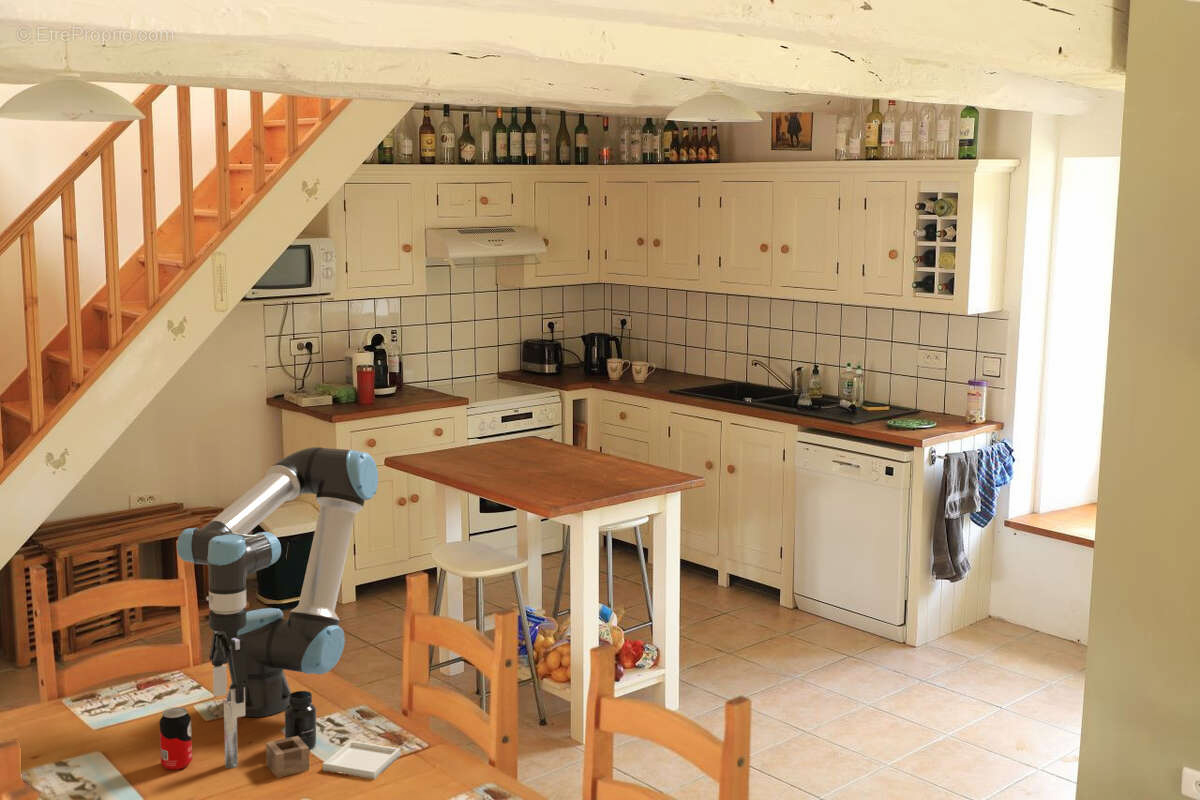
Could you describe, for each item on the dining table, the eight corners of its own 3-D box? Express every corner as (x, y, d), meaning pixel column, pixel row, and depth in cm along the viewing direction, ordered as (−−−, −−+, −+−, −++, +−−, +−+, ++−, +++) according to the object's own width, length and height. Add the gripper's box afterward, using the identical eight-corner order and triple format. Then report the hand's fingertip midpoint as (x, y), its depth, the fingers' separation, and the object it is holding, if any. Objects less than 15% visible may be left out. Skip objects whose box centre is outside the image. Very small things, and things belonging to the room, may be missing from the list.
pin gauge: (223, 764, 257) (222, 702, 255) (235, 761, 258) (234, 700, 256) (227, 769, 254) (225, 706, 252) (239, 766, 256) (238, 704, 254)
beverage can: (174, 774, 252) (172, 720, 250) (154, 766, 255) (152, 713, 253) (198, 763, 257) (197, 710, 255) (179, 756, 260) (177, 703, 258)
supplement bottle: (308, 754, 263) (307, 702, 261) (279, 750, 264) (278, 699, 262) (321, 741, 269) (321, 690, 268) (293, 737, 271) (292, 687, 269)
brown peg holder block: (266, 764, 257) (266, 742, 256) (298, 757, 261) (297, 735, 260) (276, 777, 251) (276, 755, 250) (309, 770, 255) (308, 747, 254)
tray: (322, 770, 255) (322, 763, 255) (350, 747, 266) (350, 740, 266) (374, 779, 251) (374, 772, 251) (400, 755, 263) (400, 748, 263)
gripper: (193, 596, 260) (195, 689, 262) (226, 628, 239) (228, 729, 242) (228, 591, 264) (230, 683, 266) (263, 622, 243) (264, 722, 246)
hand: (229, 705), depth 254 cm, fingers open, 13 cm apart
